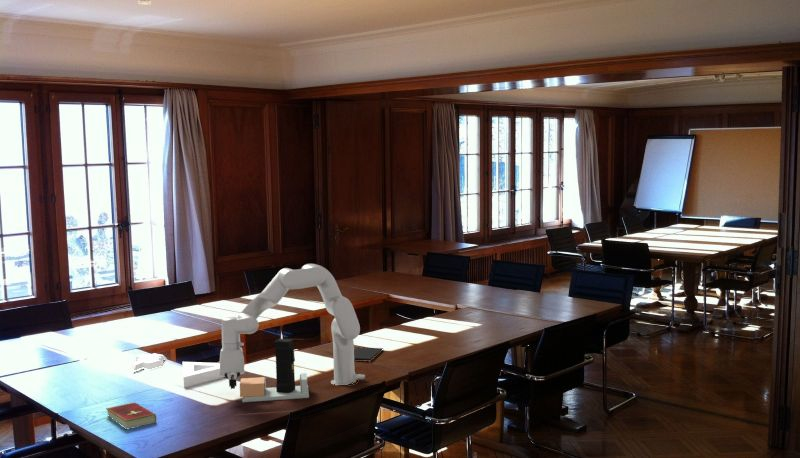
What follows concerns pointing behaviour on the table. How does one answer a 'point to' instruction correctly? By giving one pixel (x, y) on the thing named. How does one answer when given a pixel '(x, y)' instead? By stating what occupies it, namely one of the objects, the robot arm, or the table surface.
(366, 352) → the external hard drive
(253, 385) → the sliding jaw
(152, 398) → the table surface
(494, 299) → the table surface
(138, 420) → the hardcover book
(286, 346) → the portable radio
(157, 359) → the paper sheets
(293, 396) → the vise bed
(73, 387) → the table surface
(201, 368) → the triangle block
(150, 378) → the table surface
